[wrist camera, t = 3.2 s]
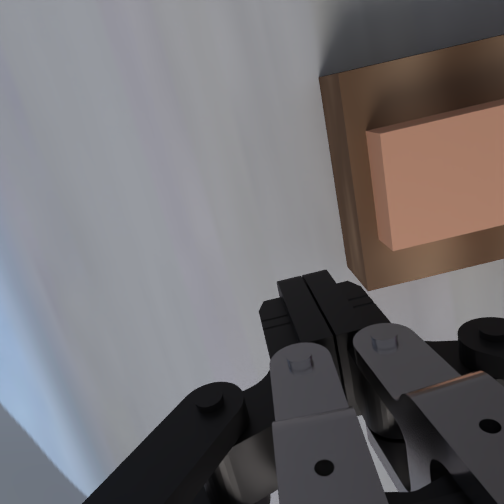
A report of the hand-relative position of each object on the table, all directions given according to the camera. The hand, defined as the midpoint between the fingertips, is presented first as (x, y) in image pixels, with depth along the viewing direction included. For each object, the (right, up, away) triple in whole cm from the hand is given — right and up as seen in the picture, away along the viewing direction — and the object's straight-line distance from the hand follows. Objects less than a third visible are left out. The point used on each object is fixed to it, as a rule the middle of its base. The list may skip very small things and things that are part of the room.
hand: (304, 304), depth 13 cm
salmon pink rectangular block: (+9, +6, +10) cm, 15 cm away
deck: (+10, +8, +14) cm, 19 cm away
